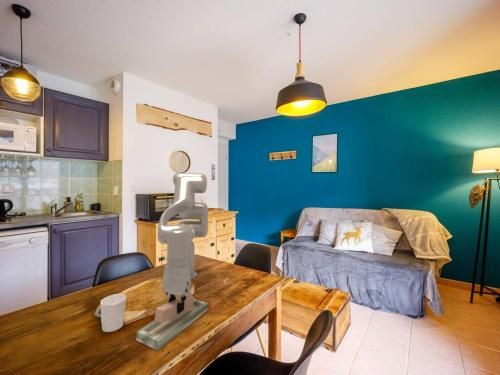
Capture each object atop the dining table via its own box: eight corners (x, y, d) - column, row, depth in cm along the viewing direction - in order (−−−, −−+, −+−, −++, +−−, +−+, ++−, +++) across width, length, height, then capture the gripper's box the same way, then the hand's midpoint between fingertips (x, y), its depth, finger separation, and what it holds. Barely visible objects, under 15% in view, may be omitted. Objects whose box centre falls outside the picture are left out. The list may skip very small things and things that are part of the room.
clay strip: (154, 320, 77) (155, 308, 77) (186, 304, 91) (187, 294, 92) (161, 323, 75) (163, 311, 76) (192, 306, 90) (193, 296, 90)
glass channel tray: (136, 340, 74) (136, 331, 74) (189, 304, 98) (189, 297, 98) (157, 350, 70) (158, 341, 70) (207, 310, 94) (207, 303, 93)
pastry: (102, 305, 95) (102, 296, 95) (119, 303, 97) (120, 295, 97) (93, 318, 86) (93, 308, 86) (112, 316, 88) (113, 306, 88)
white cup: (98, 336, 76) (99, 307, 76) (101, 323, 83) (102, 296, 83) (124, 329, 80) (125, 301, 80) (125, 317, 87) (126, 292, 87)
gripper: (153, 260, 84) (152, 309, 84) (187, 268, 77) (186, 322, 77) (168, 255, 91) (167, 300, 91) (201, 262, 84) (200, 311, 84)
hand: (176, 309), depth 84 cm, fingers closed on clay strip, 3 cm apart
